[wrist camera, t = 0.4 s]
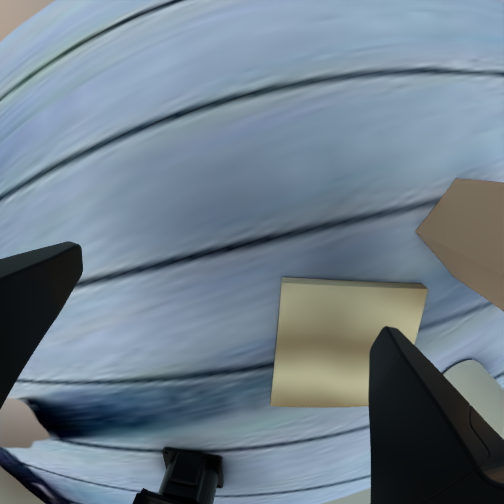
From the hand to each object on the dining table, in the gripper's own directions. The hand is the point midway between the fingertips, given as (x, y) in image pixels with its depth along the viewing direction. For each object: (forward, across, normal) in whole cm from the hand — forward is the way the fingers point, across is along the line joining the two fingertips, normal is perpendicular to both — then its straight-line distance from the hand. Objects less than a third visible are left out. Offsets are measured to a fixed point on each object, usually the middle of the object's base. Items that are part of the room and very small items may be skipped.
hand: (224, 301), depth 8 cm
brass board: (+11, -9, +10) cm, 18 cm away
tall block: (+14, -15, -1) cm, 21 cm away
